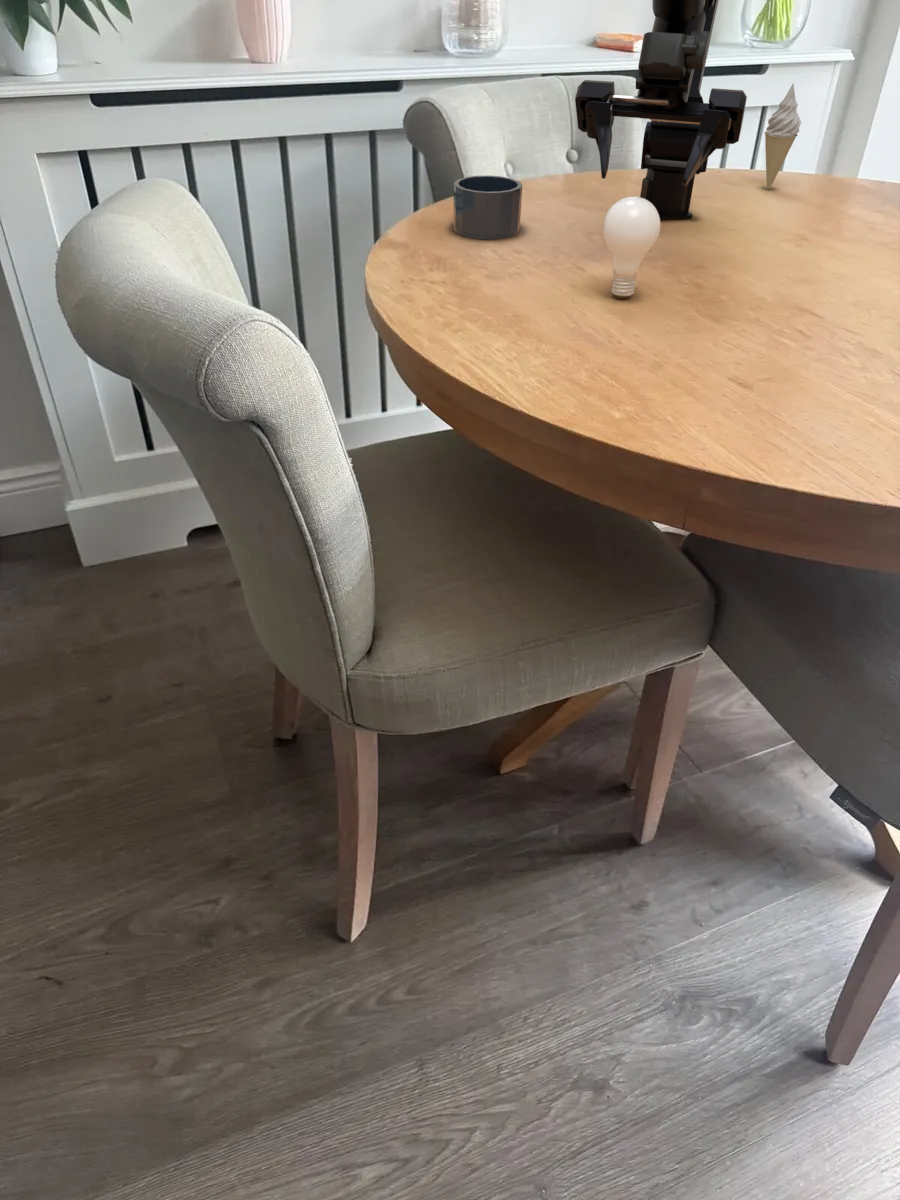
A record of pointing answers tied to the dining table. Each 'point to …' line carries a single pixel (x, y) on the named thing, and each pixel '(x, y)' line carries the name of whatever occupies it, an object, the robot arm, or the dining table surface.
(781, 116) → the ice cream cone
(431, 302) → the dining table surface
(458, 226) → the tube
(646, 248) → the lightbulb
